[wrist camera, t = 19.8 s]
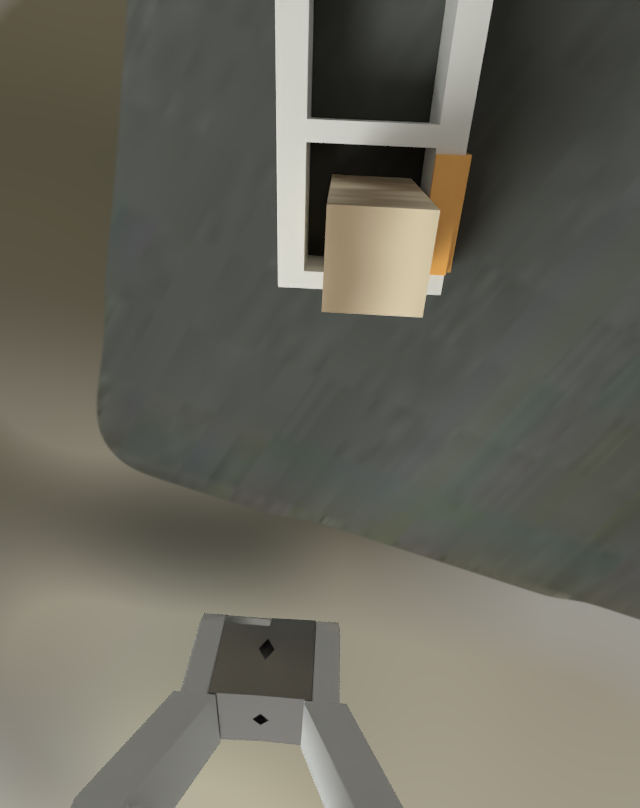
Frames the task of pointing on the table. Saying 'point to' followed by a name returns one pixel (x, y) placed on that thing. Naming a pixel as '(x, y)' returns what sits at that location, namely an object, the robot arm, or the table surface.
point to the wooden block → (377, 246)
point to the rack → (374, 133)
